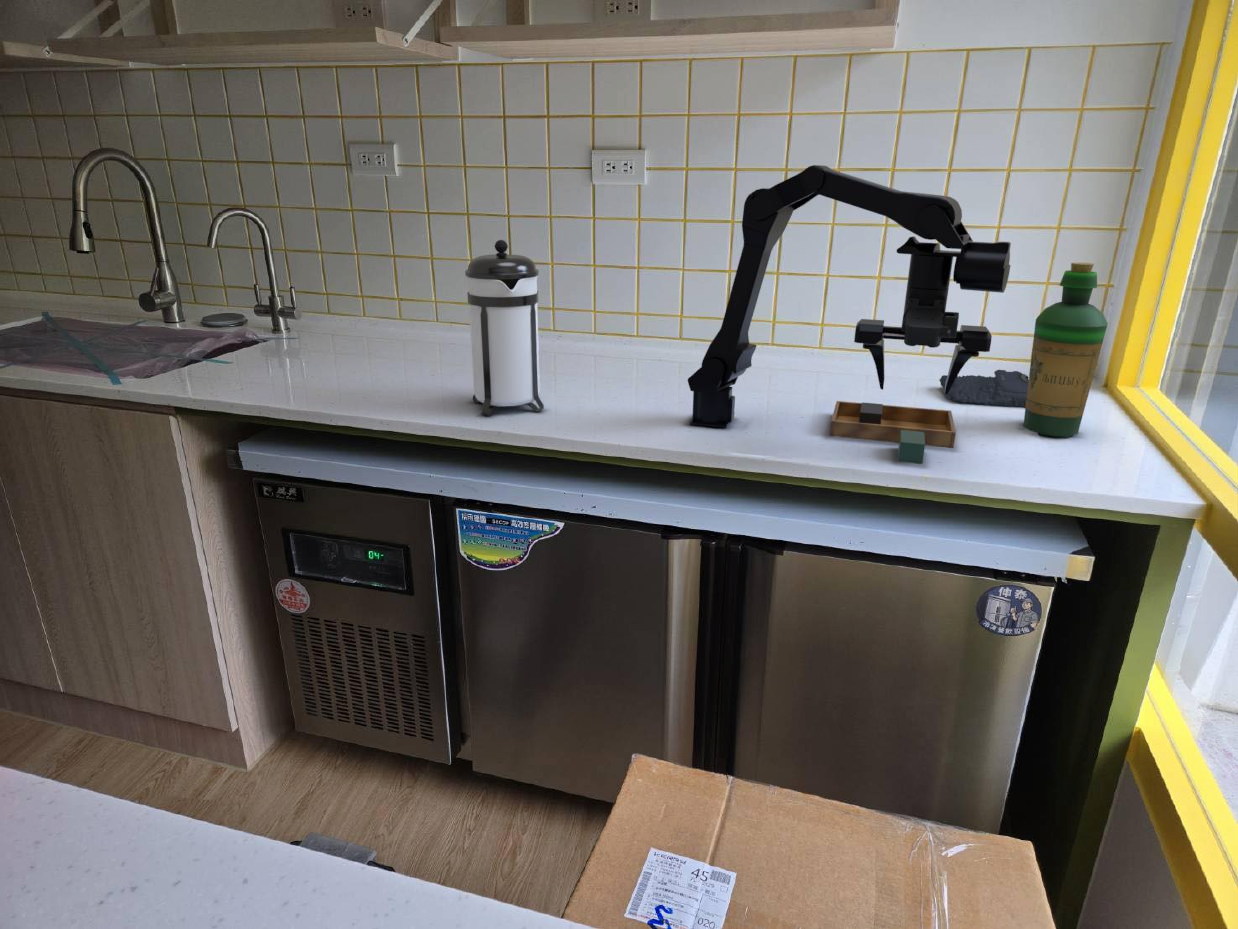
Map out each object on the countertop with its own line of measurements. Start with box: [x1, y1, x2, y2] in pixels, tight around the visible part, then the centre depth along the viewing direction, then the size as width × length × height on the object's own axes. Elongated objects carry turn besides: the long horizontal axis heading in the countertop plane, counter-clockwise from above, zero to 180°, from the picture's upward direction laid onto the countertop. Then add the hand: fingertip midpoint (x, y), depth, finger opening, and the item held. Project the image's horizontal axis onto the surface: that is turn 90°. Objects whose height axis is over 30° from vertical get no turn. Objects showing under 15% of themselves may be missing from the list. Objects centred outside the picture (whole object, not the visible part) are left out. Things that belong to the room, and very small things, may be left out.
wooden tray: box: [829, 400, 957, 449], centre depth 138 cm, size 19×13×3 cm
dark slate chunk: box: [939, 369, 1029, 408], centre depth 161 cm, size 15×22×5 cm
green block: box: [897, 430, 926, 464], centre depth 126 cm, size 4×6×4 cm, turn 162°
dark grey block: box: [859, 402, 884, 425], centre depth 139 cm, size 4×6×4 cm, turn 162°
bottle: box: [1022, 262, 1109, 438], centre depth 135 cm, size 11×11×28 cm
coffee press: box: [464, 239, 545, 417], centre depth 148 cm, size 17×16×30 cm
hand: (913, 391), depth 124 cm, fingers open, 9 cm apart
